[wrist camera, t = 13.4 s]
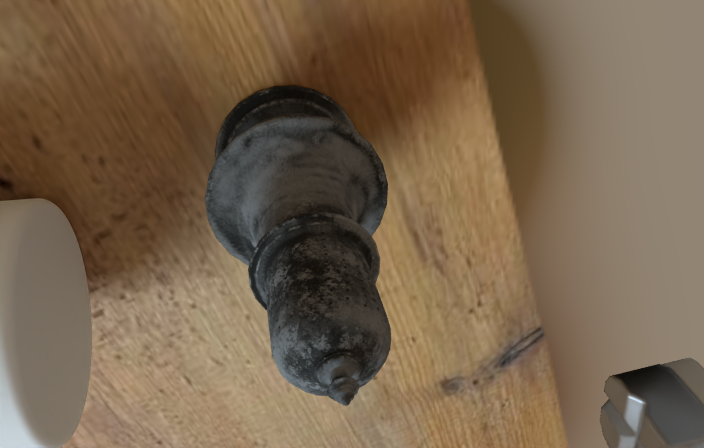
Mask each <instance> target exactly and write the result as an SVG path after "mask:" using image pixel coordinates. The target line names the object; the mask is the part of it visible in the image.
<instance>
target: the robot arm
mask: <svg viewBox="0 0 704 448" xmlns="http://www.w3.org/2000/svg"><path fill="white" fill-rule="evenodd" d="M604 392H605V393H606V395H607V396H608V398H609V400H608V401H607V402H606V403H605V404H604V405H603V406H602V407H601V415H600V423H601V427H602V432H603V436H604V438H605V440H606V442H607V445H608V447H609V448H704V368H703V367H702V366H701V365H700V364H699V363H698V362H697V361H695V360H693V359H691V358H686V359H681V360H677V361H673V362H669V363H665V364H661V365H660V364H657V365H653V366H649V367H645V368H641V369H637V370H633V371H629V372H625V373H621V374H617V375H612V376H609V378H608V379H607V380H606V381H605V387H604Z"/></svg>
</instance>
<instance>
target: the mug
mask: <svg viewBox="0 0 704 448" xmlns="http://www.w3.org/2000/svg"><path fill="white" fill-rule="evenodd" d="M91 354H92V323H91V307H90V297H89V289H88V283H87V277H86V272H85V267H84V262H83V258H82V254H81V251H80V247H79V244H78V241H77V239H76V236H75V233H74V231H73V229H72V227H71V225H70V223H69V221H68V219H67V218H66V216H65V215H64V213H63V212H62V211H61V210H60V208H58V207H57V206H56V205H55V204H54V203H52V202H51V201H48V200H46V199H41V198H35V199H22V200H8V201H0V448H61V447H62V446H63V445H64V444H66V443H67V442H68V440H69V439H70V438H71V436H72V435H73V433H74V432H75V430H76V428H77V426H78V423H79V421H80V418H81V415H82V412H83V409H84V405H85V401H86V397H87V391H88V385H89V378H90V369H91Z"/></svg>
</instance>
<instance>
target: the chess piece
mask: <svg viewBox="0 0 704 448" xmlns="http://www.w3.org/2000/svg"><path fill="white" fill-rule="evenodd" d="M215 156H216V162H215V164H214V166H213V168H212V170H211V172H210V174H209V178H208V183H207V189H206V195H205V202H206V209H207V217H208V221H209V223H210V225H211V227H212V229H213V231H214V234H215V236H216V238H217V239H218V240H219V242H220V243H221V244H222V245H223V246H224V247H225V248H226V249H227V251H228V252H229V253H230V254H231V255H233V256H234V257H236V258H237V259H239V260H240V261H242V262H243V263H245V264H246V265H248V266H249V268H248V272H249V282H250V287H251V289H252V291H253V294H254V296H255V298H256V299H257V301H258V302H259V303H260V304H261V305H262V306H263V307H264V308H265V309H266V310H267V313H268V322H269V331H270V340H271V349H272V356H273V358H274V360H275V362H276V365H277V367H278V369H279V371H280V373H281V375H282V376H283V377H284V378H285V379H286V380H287V381H288V382H289V383H291V384H293V385H294V386H296V387H298V388H300V389H301V390H303V391H305V392H307V393H311V394H314V395H320V396H329V397H330V398H331V399H333V400H334V401H337V402H338V403H340V404H343V405H345V406H347V405H349V404H350V401H351V400H353V398H354V396H355V395H356V394H357V392H358V389H359V388H360V387H362V386H363V385H365V384H366V383H368V382H369V381H370V380H371V379H372V378H373V377H375V375H376V374H377V373H378V371H379V370H380V369H381V367H382V366H383V364H384V363H385V361H386V359H387V356H388V354H389V351H390V344H391V328H390V325H389V322H388V318H387V315H386V312H385V310H384V307H383V304H382V301H381V299H380V296H379V293H378V290H377V288H376V285H375V283H376V280H377V278H378V275H379V268H380V257H379V253H378V250H377V246H376V243H375V241H374V240H373V238H372V235H373V234H374V232H375V231H376V229H377V228H378V226H379V225H380V223H381V220H382V217H383V214H384V211H385V208H386V205H387V191H388V183H387V179H386V175H385V171H384V167H383V163H382V161H381V160H380V158H379V157H378V155H377V153H376V152H375V150H374V148H373V147H372V145H371V144H370V143H369V142H368V141H367V140H366V139H365V138H364V137H362V136H361V135H360V134H359V133H358V132H357V131H356V130H355V128H354V125H353V124H352V122H351V120H350V119H349V117H348V116H347V114H346V112H345V111H344V110H343V109H342V108H341V107H340V106H339V105H338V104H337V103H336V102H335V101H334V100H333V99H331V98H330V97H328V96H326V95H324V94H322V93H320V92H318V91H316V90H314V89H309V88H305V87H300V86H295V85H294V86H275V87H272V88H269V89H265V90H262V91H259V92H256V93H254V94H253V95H251V96H250V97H248V98H246V99H245V100H243V101H242V102H240V103H239V104H238V105H237V106H236V107H235V108H234V109H233V110H232V111H231V113H230V114H229V115H228V116H227V117H226V119H225V121H224V123H223V125H222V127H221V129H220V131H219V133H218V138H217V143H216V149H215Z"/></svg>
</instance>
